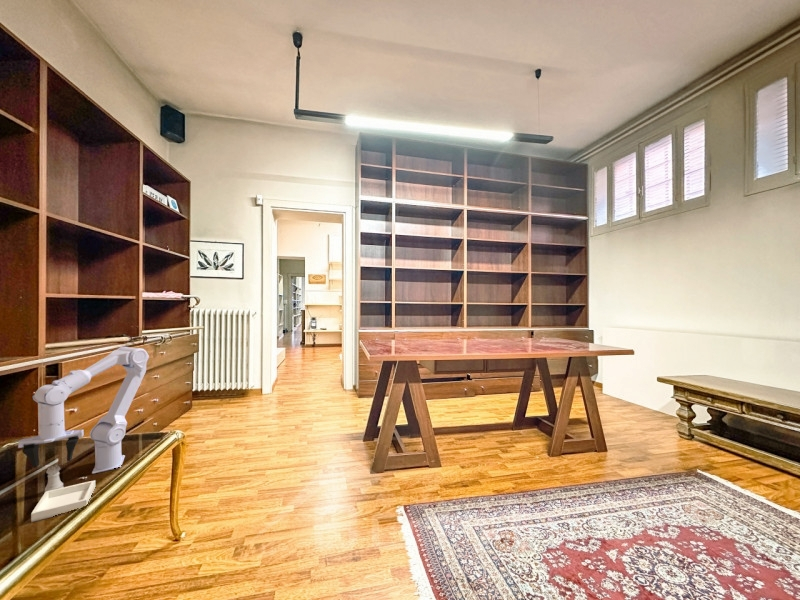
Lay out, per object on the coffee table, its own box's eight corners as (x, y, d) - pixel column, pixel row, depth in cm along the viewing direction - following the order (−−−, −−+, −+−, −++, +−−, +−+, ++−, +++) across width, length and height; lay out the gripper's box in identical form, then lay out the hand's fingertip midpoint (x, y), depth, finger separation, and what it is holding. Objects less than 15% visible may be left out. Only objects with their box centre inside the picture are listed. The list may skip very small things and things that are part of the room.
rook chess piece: (63, 485, 110) (62, 462, 110) (64, 490, 107) (64, 467, 107) (43, 491, 107) (42, 467, 106) (44, 497, 104) (43, 473, 104)
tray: (46, 499, 103) (45, 491, 103) (95, 487, 110) (95, 480, 109) (31, 522, 94) (31, 513, 93) (86, 507, 100) (86, 499, 100)
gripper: (13, 432, 99) (14, 476, 99) (79, 422, 107) (80, 462, 107) (22, 423, 105) (24, 464, 105) (84, 414, 112) (85, 453, 113)
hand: (53, 463), depth 107 cm, fingers open, 7 cm apart
